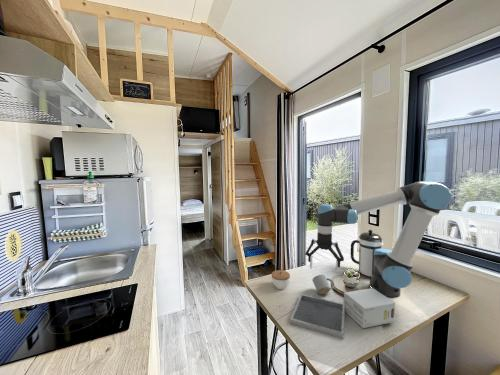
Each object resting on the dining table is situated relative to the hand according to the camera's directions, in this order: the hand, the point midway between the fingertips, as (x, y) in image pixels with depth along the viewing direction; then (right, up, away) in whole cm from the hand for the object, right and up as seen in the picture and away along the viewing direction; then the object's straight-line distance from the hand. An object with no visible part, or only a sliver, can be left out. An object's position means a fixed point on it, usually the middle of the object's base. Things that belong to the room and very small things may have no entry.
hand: (323, 269), depth 119 cm
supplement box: (+14, -14, -19) cm, 28 cm away
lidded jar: (-23, -13, +7) cm, 27 cm away
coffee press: (+36, -11, +21) cm, 43 cm away
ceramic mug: (+1, -13, +1) cm, 13 cm away
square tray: (-8, -14, -18) cm, 25 cm away
